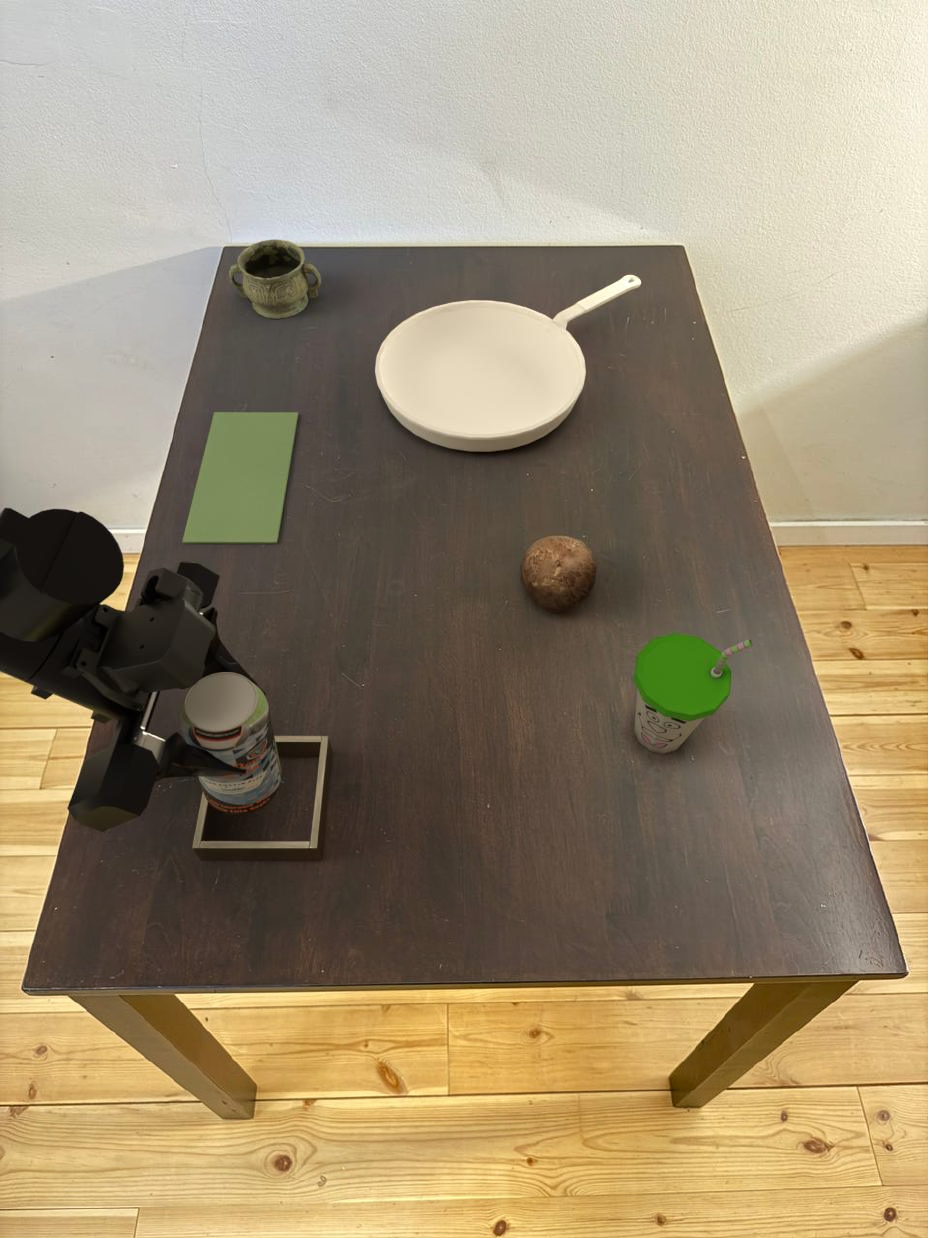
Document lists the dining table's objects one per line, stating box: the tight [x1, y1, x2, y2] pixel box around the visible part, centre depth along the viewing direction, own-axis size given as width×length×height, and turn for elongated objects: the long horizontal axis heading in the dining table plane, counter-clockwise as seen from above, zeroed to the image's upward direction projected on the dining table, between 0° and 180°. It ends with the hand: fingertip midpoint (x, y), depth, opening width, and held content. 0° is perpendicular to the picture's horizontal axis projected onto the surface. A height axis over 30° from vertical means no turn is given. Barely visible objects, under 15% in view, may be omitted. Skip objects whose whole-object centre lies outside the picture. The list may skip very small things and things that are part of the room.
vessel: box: [228, 238, 322, 320], centre depth 111 cm, size 12×9×6 cm
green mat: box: [181, 411, 299, 545], centre depth 95 cm, size 10×20×1 cm, turn 0°
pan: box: [374, 274, 642, 453], centre depth 104 cm, size 25×39×4 cm, turn 129°
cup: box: [632, 632, 753, 755], centre depth 71 cm, size 8×8×15 cm
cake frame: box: [192, 735, 334, 861], centre depth 72 cm, size 10×10×3 cm
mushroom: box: [519, 535, 598, 613], centre depth 84 cm, size 8×8×6 cm
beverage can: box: [179, 672, 283, 816], centre depth 62 cm, size 6×7×12 cm
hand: (253, 734), depth 62 cm, fingers closed on beverage can, 6 cm apart
